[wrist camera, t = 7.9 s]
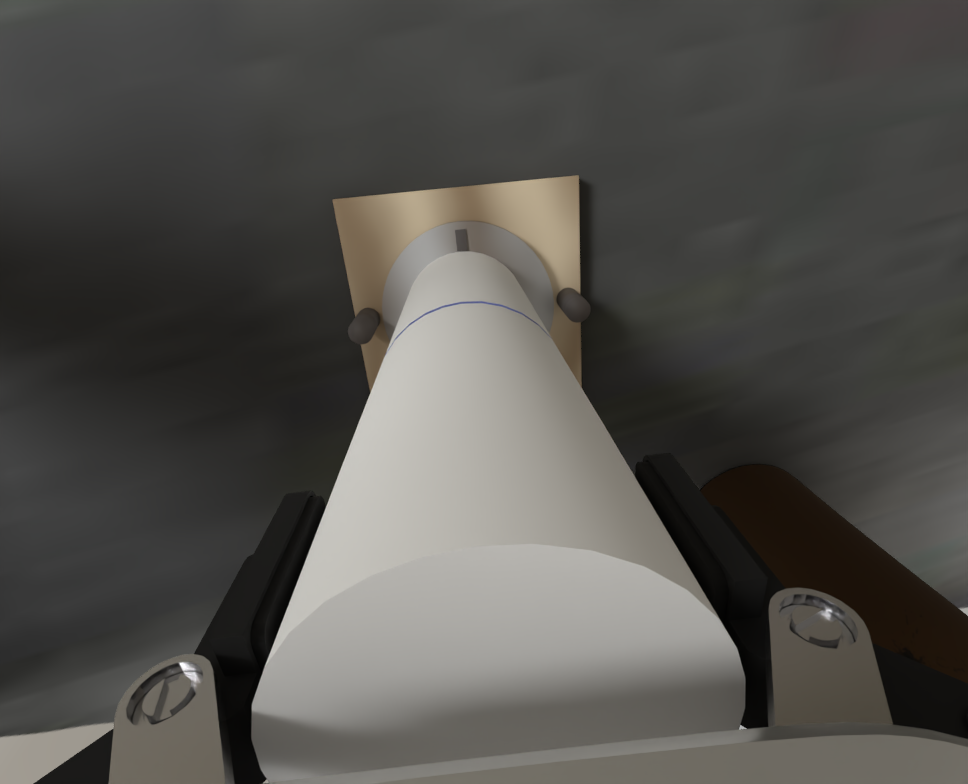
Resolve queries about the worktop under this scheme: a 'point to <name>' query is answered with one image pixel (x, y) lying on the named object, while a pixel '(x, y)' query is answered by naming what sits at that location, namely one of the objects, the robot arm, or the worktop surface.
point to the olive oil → (841, 565)
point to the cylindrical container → (485, 565)
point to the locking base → (457, 228)
